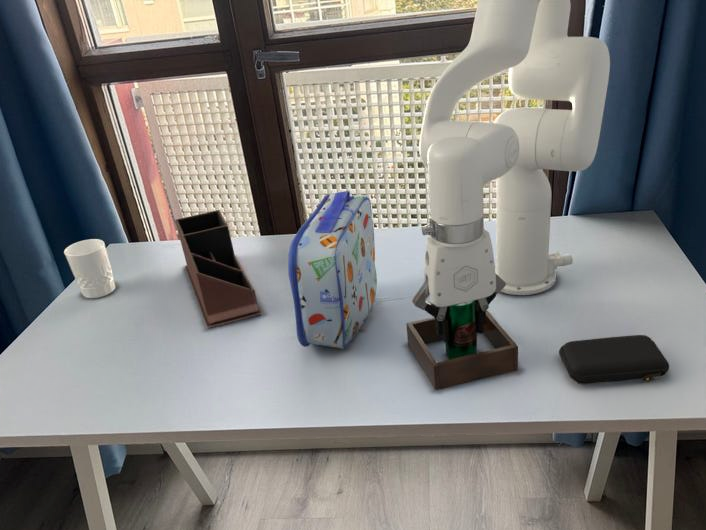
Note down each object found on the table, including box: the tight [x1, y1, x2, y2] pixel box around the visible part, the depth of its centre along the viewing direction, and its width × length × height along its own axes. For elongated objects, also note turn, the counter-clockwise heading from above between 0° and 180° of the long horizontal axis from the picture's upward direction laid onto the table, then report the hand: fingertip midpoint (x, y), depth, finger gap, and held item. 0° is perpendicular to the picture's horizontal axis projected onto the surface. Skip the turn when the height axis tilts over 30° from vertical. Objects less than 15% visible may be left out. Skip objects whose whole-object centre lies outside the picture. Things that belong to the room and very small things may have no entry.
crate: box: [405, 309, 519, 391], centre depth 112 cm, size 14×14×4 cm
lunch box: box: [287, 190, 378, 349], centre depth 121 cm, size 28×10×22 cm, turn 168°
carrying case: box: [558, 334, 670, 385], centre depth 106 cm, size 11×3×15 cm
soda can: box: [444, 300, 478, 360], centre depth 110 cm, size 5×5×12 cm
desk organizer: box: [174, 209, 263, 329], centre depth 139 cm, size 10×29×11 cm, turn 20°
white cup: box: [63, 238, 116, 299], centre depth 144 cm, size 8×8×10 cm
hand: (460, 332), depth 111 cm, fingers closed on soda can, 5 cm apart
